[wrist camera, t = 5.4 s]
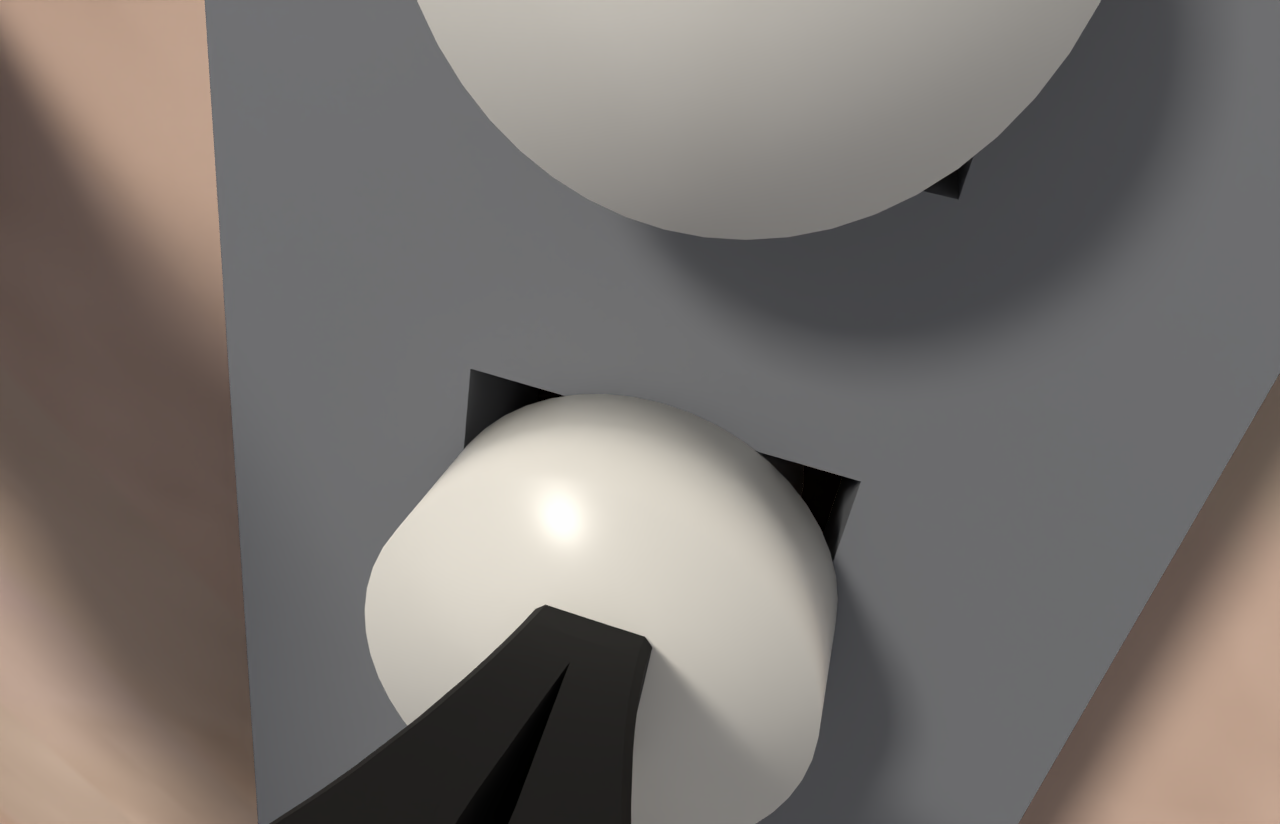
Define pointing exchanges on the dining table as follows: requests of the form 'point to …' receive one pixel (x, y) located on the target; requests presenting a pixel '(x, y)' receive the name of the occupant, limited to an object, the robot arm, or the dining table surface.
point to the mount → (759, 372)
